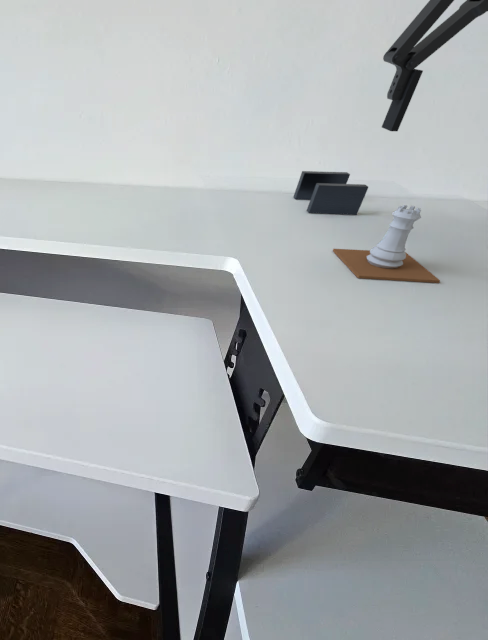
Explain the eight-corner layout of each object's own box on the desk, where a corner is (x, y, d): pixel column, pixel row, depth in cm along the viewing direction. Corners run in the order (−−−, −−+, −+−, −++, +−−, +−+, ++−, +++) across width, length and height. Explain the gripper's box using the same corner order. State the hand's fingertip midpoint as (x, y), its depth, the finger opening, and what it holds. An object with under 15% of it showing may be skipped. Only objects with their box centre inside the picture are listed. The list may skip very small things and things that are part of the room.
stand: (337, 198, 97) (347, 172, 94) (356, 215, 89) (368, 186, 86) (293, 197, 99) (302, 170, 96) (308, 213, 91) (319, 185, 88)
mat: (404, 254, 75) (405, 252, 75) (439, 283, 67) (440, 280, 67) (332, 250, 77) (333, 248, 76) (357, 278, 69) (359, 275, 68)
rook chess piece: (406, 271, 69) (435, 214, 64) (369, 267, 70) (396, 211, 66) (395, 258, 73) (423, 204, 68) (361, 255, 74) (385, 201, 69)
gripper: (681, -109, 50) (546, 124, 62) (403, -90, 54) (330, 123, 67) (759, -124, 44) (592, 136, 56) (439, -102, 48) (351, 134, 61)
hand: (450, 129), depth 62 cm, fingers open, 13 cm apart
